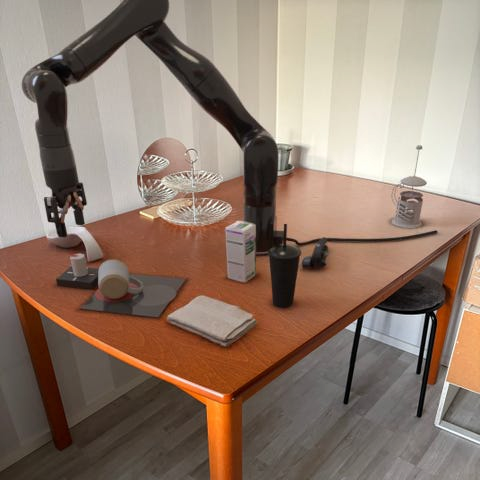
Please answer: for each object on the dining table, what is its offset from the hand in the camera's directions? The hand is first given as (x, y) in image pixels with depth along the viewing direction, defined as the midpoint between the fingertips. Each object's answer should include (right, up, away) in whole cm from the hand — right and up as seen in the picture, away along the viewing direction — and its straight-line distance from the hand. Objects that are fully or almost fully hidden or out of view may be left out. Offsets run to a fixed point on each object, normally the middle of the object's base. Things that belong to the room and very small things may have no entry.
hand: (72, 230), depth 123 cm
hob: (+16, -16, +1) cm, 22 cm away
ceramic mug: (+12, -16, +1) cm, 20 cm away
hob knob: (0, -10, +6) cm, 12 cm away
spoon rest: (-7, -1, +26) cm, 27 cm away
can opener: (+65, -5, +17) cm, 67 cm away
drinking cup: (+53, -19, -4) cm, 56 cm away
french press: (+97, +10, +41) cm, 106 cm away
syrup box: (+43, -11, +8) cm, 45 cm away
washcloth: (+36, -24, -12) cm, 45 cm away
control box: (0, -12, +7) cm, 14 cm away
